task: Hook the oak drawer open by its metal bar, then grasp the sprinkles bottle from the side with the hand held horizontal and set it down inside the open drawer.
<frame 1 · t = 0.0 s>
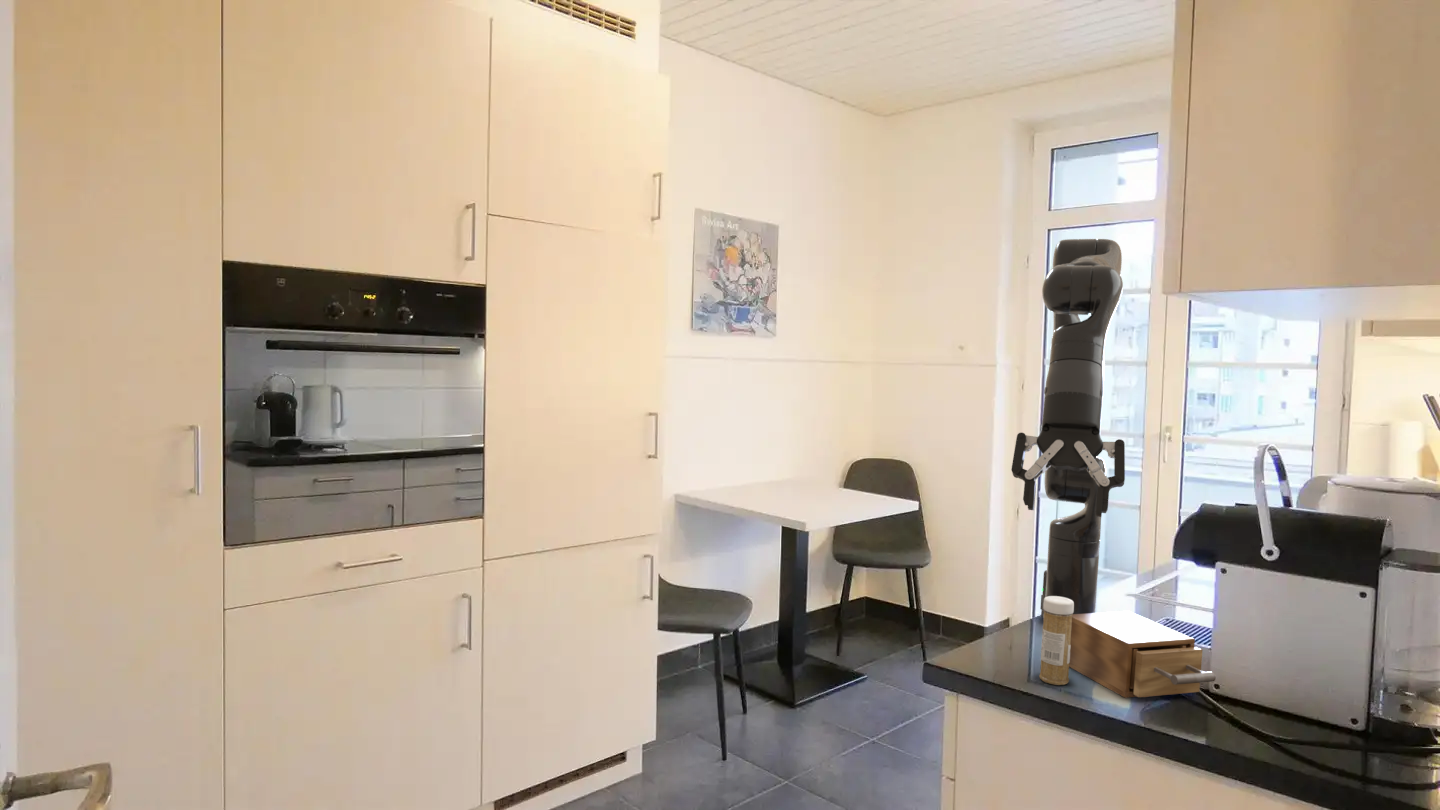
hand: (1064, 512, 119), 31 cm above the worktop, tool tilted 20°, fingers open, 8 cm apart
sprinkles bottle: (1053, 681, 143), on the worktop
drawer: (1150, 663, 140), point 4 cm above the worktop, slide at 1.0 cm
cabinet: (1125, 677, 145), on the worktop
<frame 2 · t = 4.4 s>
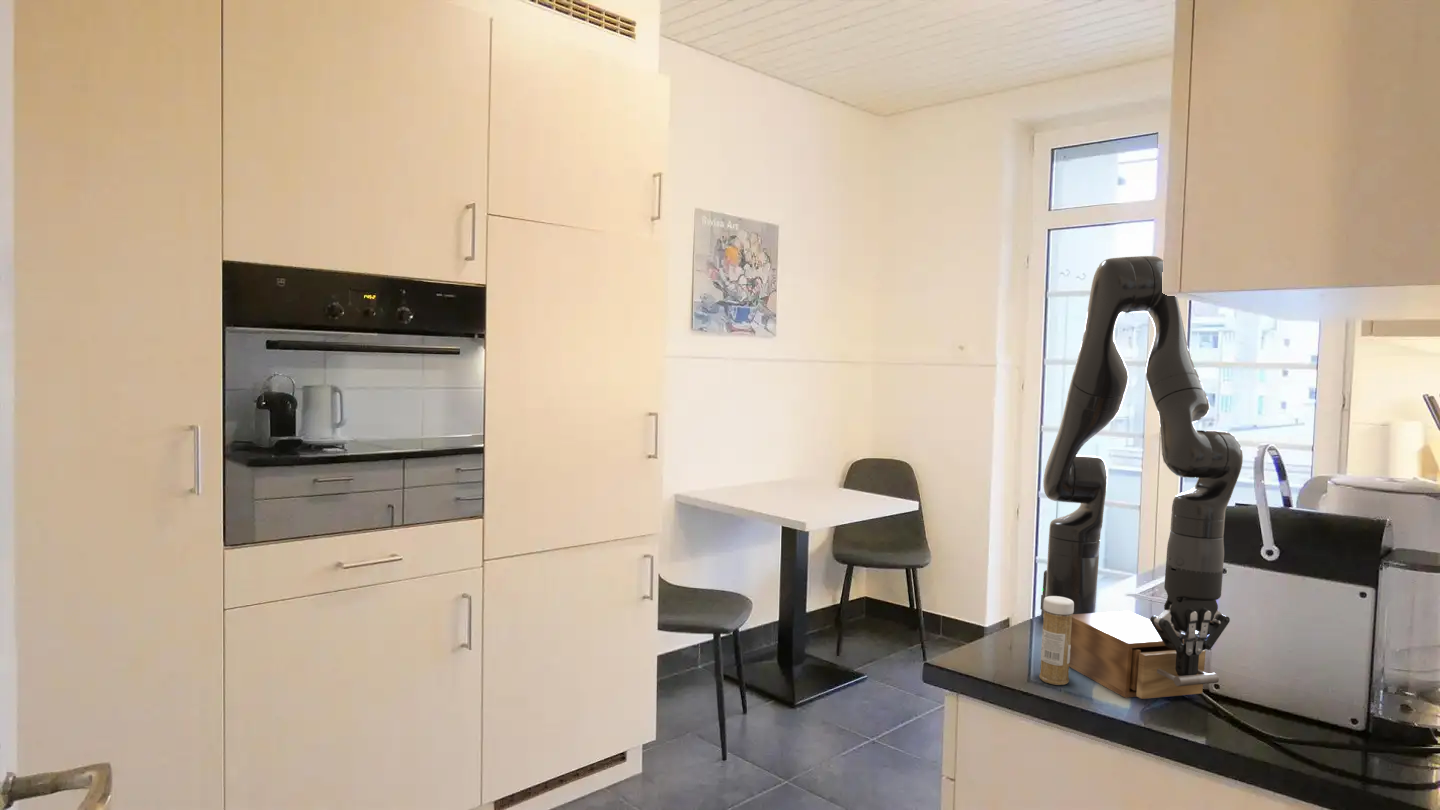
hand: (1185, 676, 133), 5 cm above the worktop, tool pointing down, fingers closed
drawer: (1153, 664, 139), point 4 cm above the worktop, slide at 1.6 cm, touching gripper
everything else where it was.
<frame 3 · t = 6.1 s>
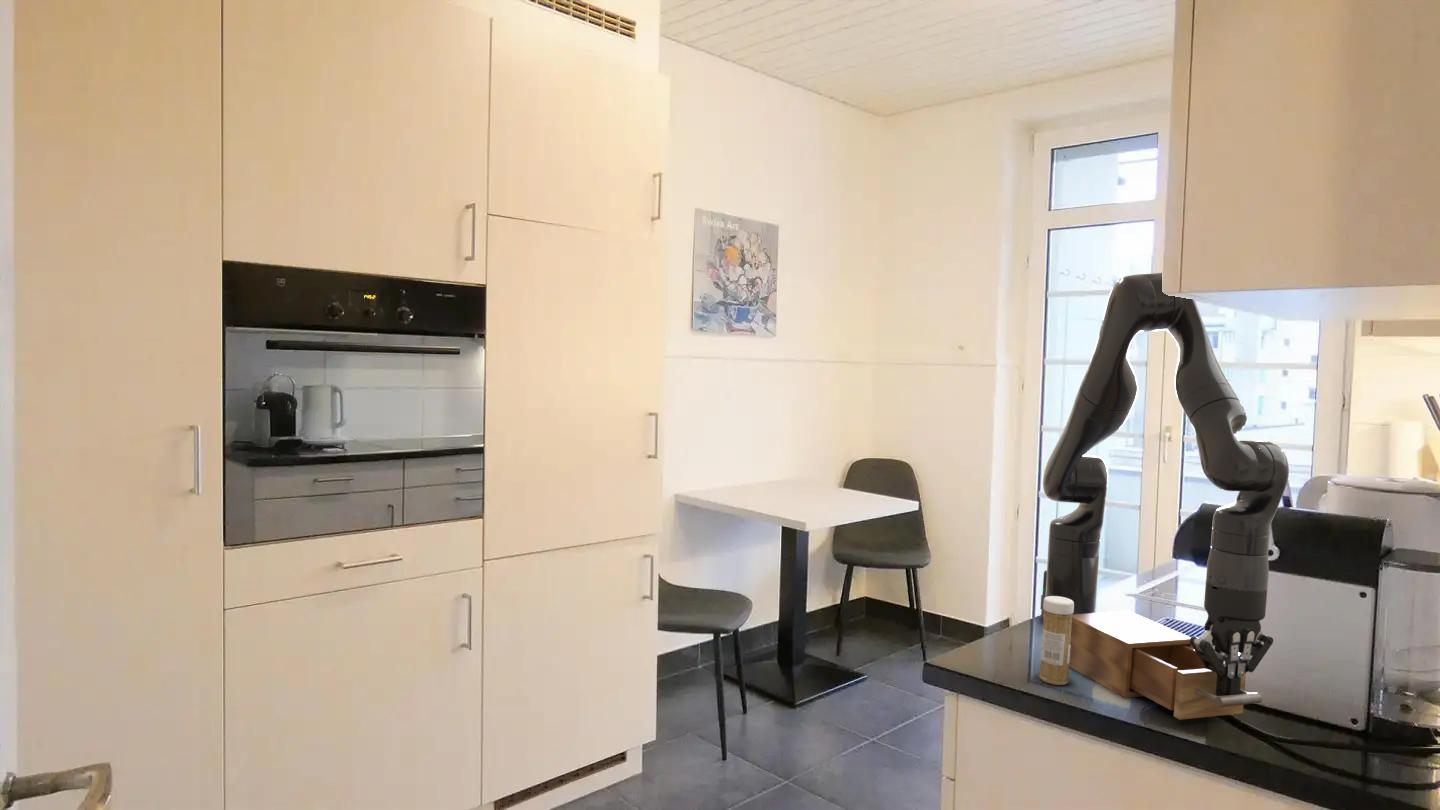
hand: (1226, 700, 126), 4 cm above the worktop, tool pointing down, fingers closed
drawer: (1190, 682, 132), point 4 cm above the worktop, slide at 9.1 cm, touching gripper
everything else where it was.
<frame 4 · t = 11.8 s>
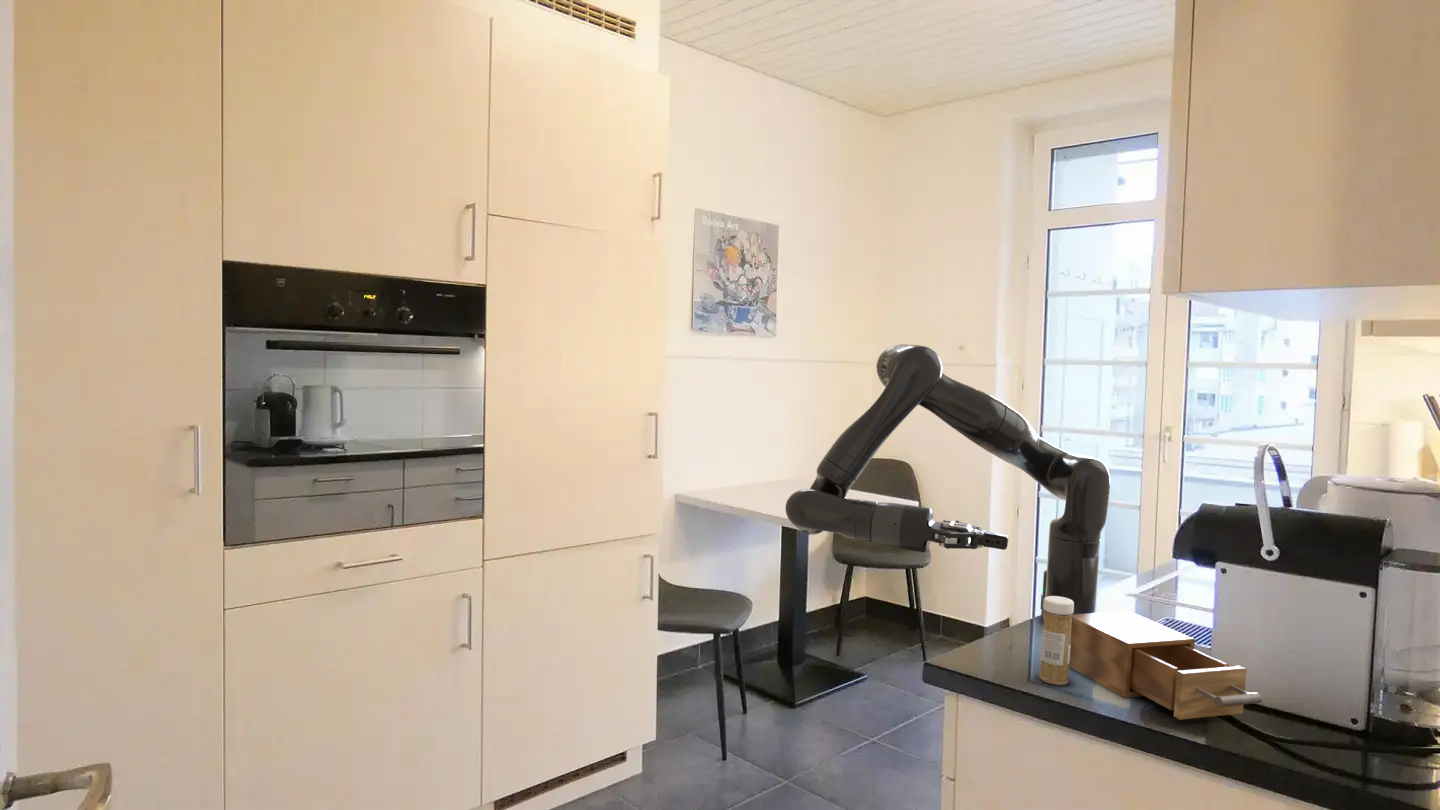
hand: (1007, 542, 144), 22 cm above the worktop, tool horizontal, fingers closed
drawer: (1190, 682, 132), point 4 cm above the worktop, slide at 9.1 cm
everything else where it was.
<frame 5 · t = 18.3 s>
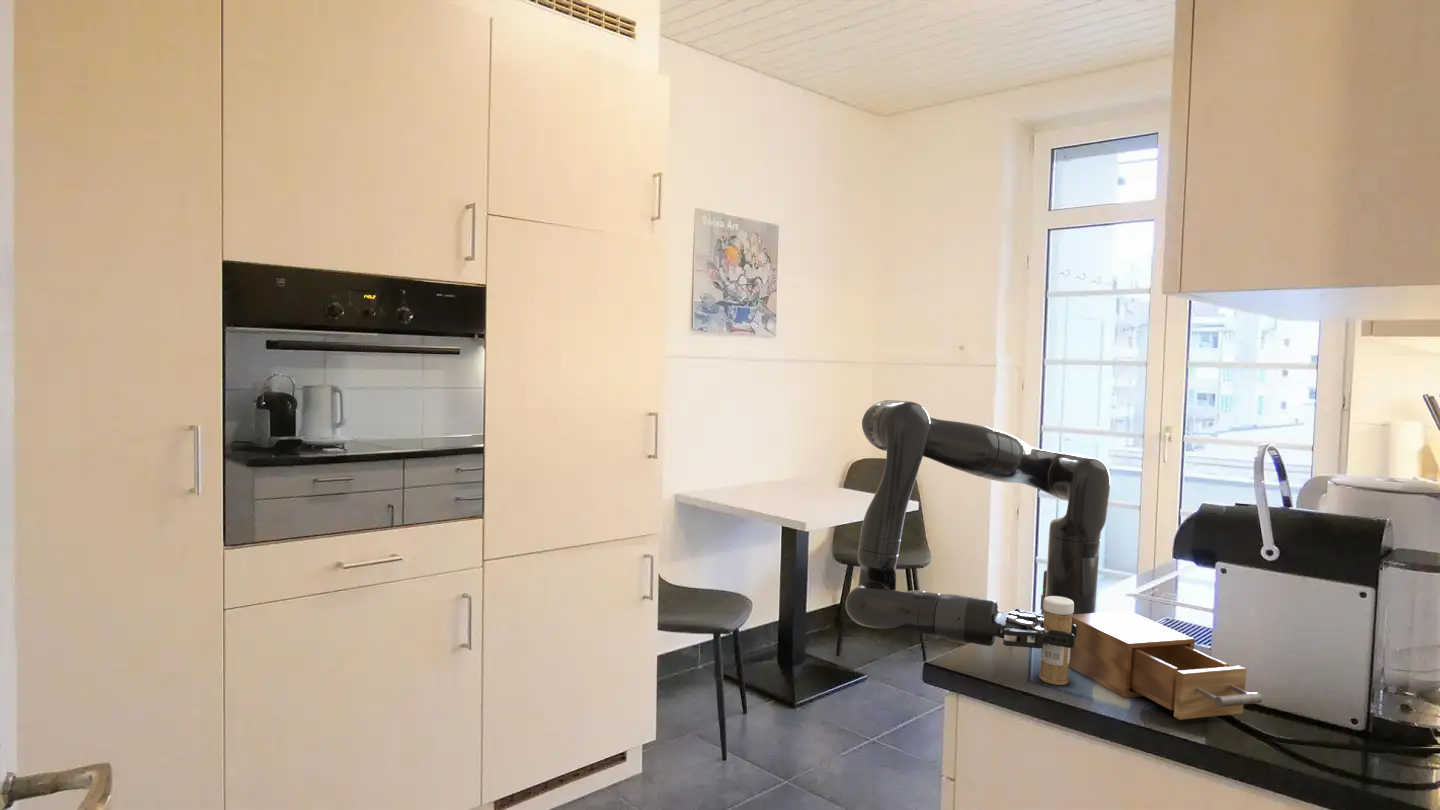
hand: (1074, 636, 141), 8 cm above the worktop, tool horizontal, fingers closed on sprinkles bottle, 4 cm apart
sprinkles bottle: (1053, 681, 143), on the worktop, touching gripper
everything else where it was.
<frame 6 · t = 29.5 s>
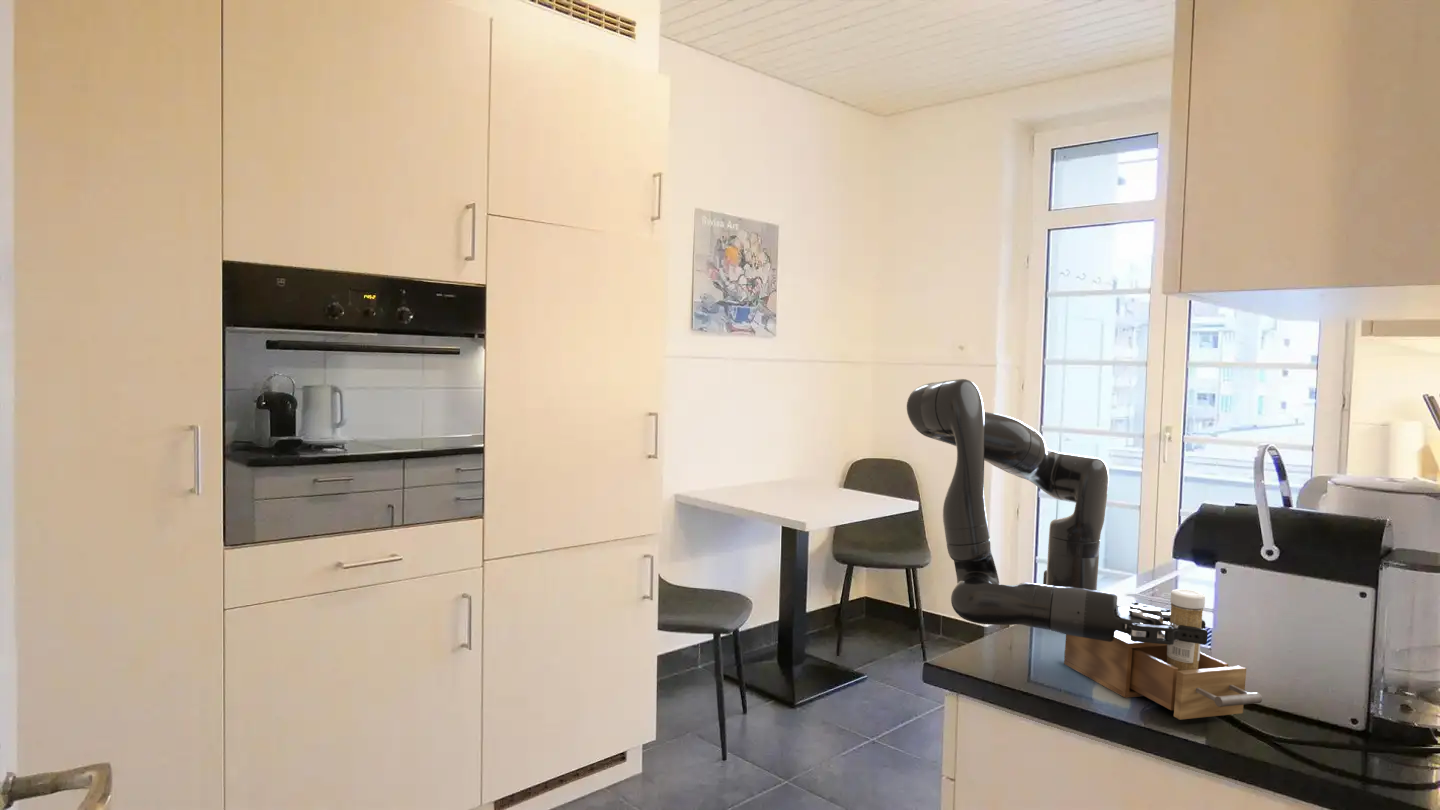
hand: (1205, 632, 132), 12 cm above the worktop, tool horizontal, fingers closed on sprinkles bottle, 4 cm apart
sprinkles bottle: (1180, 680, 134), point 4 cm above the worktop, touching gripper
everything else where it was.
when the fingers open (14 cm above the worktop, at t = 41.0 s): sprinkles bottle drops 4 cm, resting on drawer.
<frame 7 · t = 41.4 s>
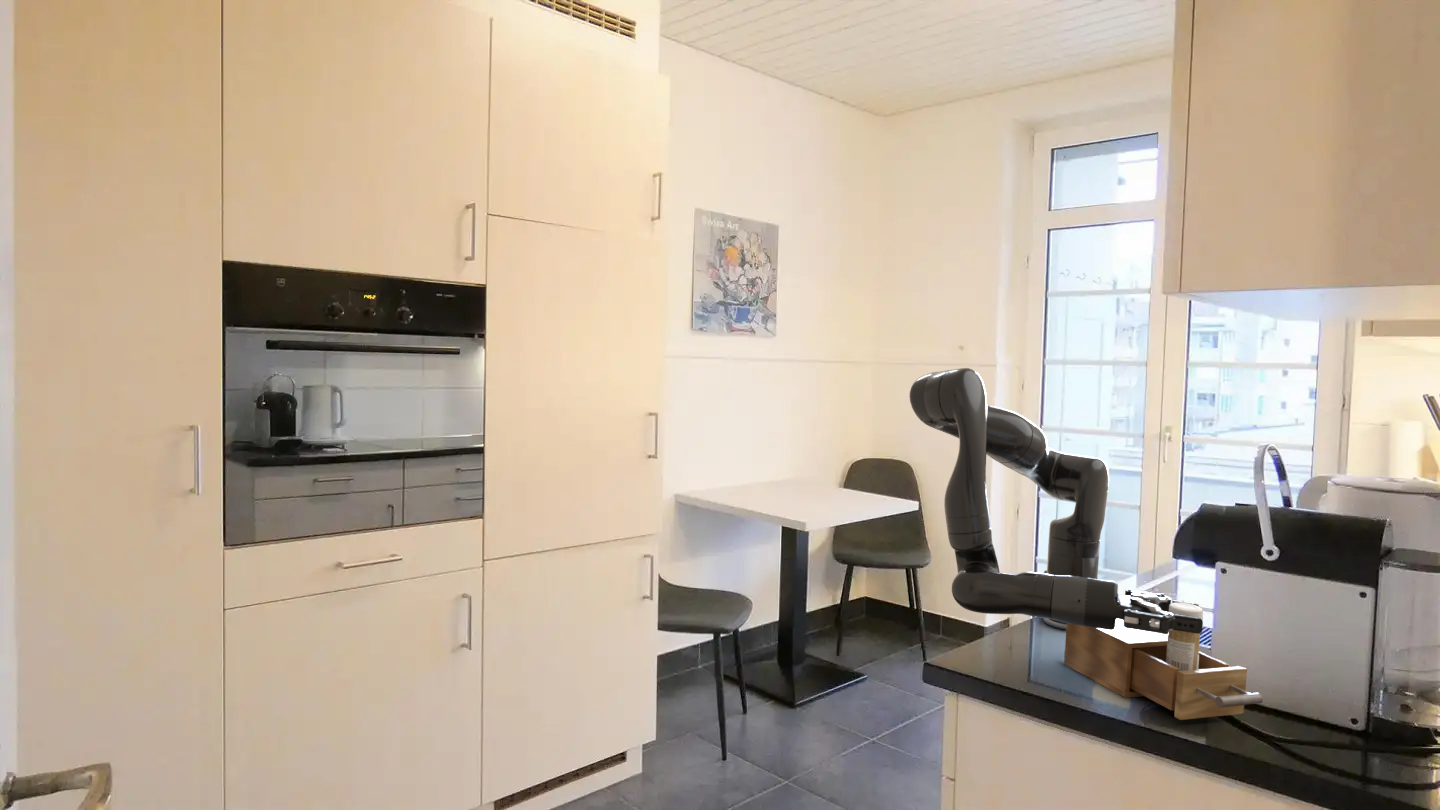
hand: (1200, 618, 132), 14 cm above the worktop, tool horizontal, fingers open, 8 cm apart
sprinkles bottle: (1179, 693, 134), point 2 cm above the worktop, touching drawer
drawer: (1190, 682, 132), point 4 cm above the worktop, slide at 9.2 cm, touching sprinkles bottle
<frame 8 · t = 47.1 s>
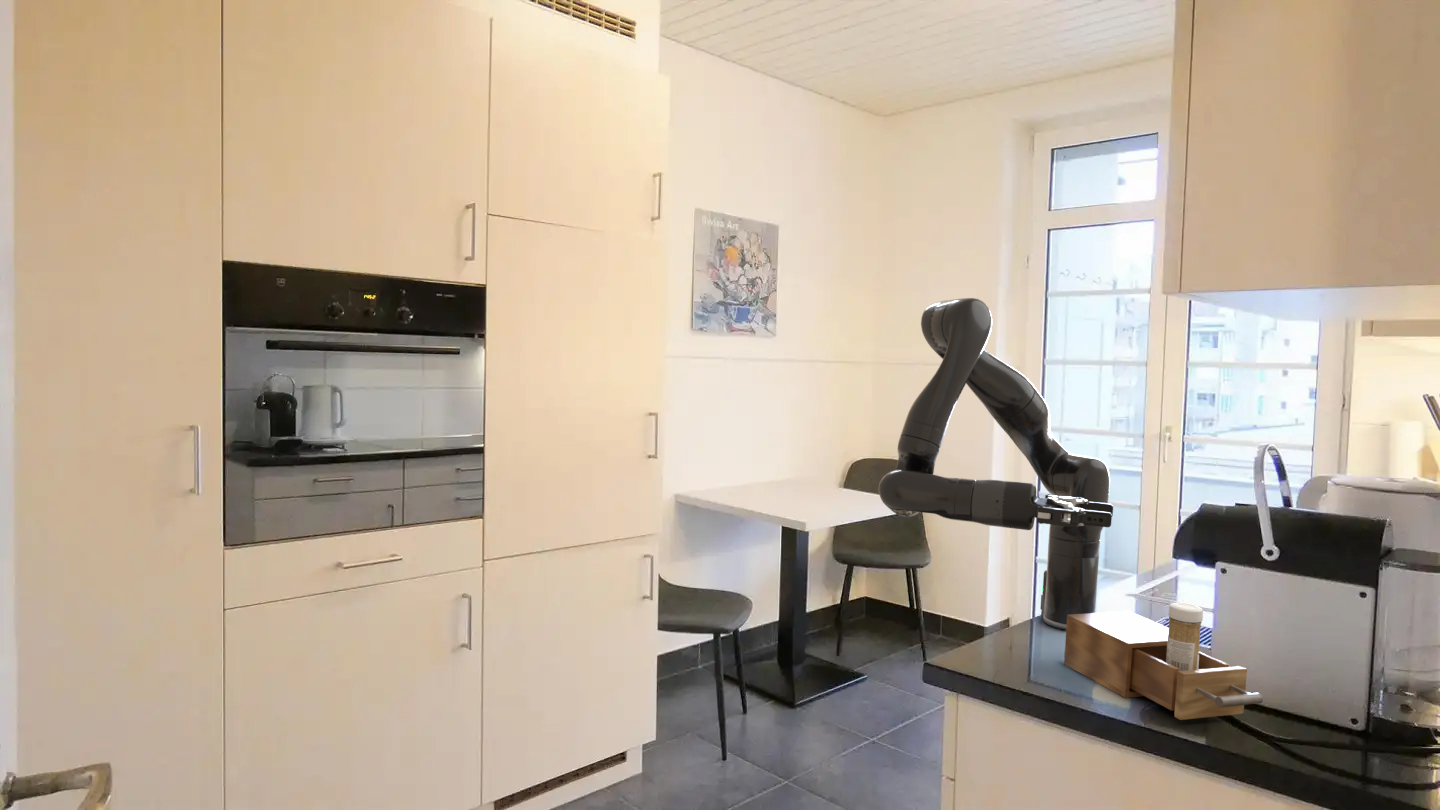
hand: (1112, 515, 137), 28 cm above the worktop, tool horizontal, fingers open, 8 cm apart
nothing on the worktop moved.
at the end: drawer slide at 9.2 cm; sprinkles bottle inside the target area in the drawer (0.4 cm from its centre), point 1.8 cm above the cabinet's base; the gripper is holding nothing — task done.
